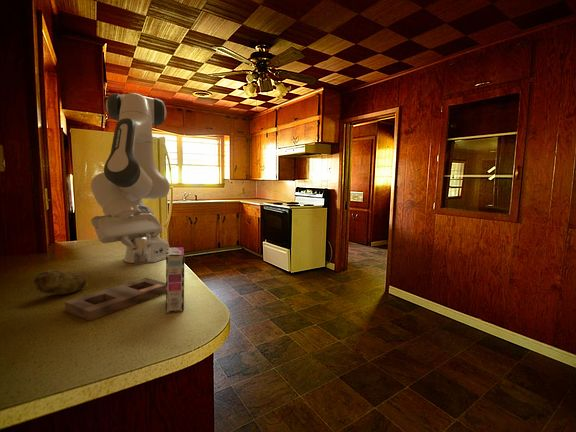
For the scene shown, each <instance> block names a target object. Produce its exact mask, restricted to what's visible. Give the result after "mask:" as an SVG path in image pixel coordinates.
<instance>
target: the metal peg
mask: <svg viewBox="0 0 576 432" xmlns="http://www.w3.org/2000/svg"><path fill="white" fill-rule="evenodd" d="M133 239H134V243H135V244H136V245H137V248H136V250H134V263H133V264H135V265H142V264H148V263H149V262H148V237H134V238H133Z"/></svg>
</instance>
